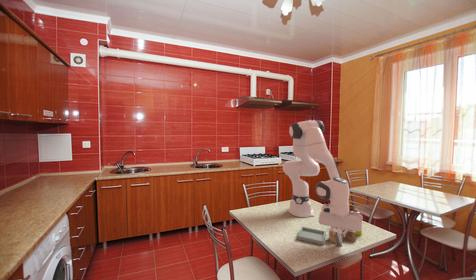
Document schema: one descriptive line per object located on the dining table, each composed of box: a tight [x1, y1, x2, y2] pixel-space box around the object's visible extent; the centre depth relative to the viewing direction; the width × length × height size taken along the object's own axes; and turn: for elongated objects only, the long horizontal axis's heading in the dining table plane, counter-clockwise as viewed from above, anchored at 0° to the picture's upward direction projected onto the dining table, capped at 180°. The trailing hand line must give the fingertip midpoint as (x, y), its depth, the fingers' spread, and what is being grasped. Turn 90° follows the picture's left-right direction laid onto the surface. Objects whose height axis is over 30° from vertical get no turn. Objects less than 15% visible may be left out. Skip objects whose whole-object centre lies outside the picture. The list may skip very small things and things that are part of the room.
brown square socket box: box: [342, 228, 357, 242], centre depth 118 cm, size 8×8×5 cm
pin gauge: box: [335, 227, 343, 248], centre depth 110 cm, size 3×3×12 cm
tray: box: [296, 226, 327, 246], centre depth 118 cm, size 13×13×2 cm
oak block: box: [328, 227, 336, 244], centre depth 115 cm, size 4×4×6 cm
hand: (339, 235), depth 110 cm, fingers closed on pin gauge, 3 cm apart
